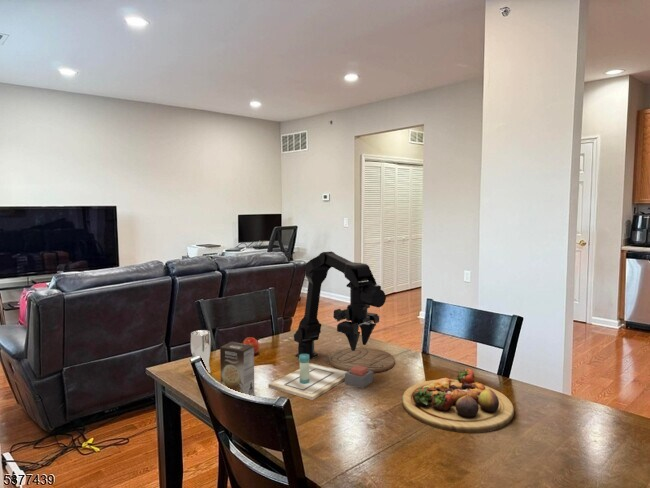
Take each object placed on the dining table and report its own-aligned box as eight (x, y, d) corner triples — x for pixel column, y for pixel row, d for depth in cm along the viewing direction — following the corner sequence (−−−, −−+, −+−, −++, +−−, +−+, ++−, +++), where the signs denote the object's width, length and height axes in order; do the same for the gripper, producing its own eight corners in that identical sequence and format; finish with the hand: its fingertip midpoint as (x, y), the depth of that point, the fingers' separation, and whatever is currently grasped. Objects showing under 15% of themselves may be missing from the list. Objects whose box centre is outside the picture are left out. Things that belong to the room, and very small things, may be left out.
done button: (356, 373, 155) (356, 365, 155) (367, 376, 153) (367, 367, 152) (350, 377, 152) (350, 368, 151) (361, 379, 149) (361, 371, 149)
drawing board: (310, 365, 168) (310, 362, 168) (352, 375, 158) (352, 372, 158) (268, 387, 149) (268, 383, 149) (312, 400, 139) (312, 396, 138)
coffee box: (219, 396, 142) (218, 346, 140) (232, 388, 147) (231, 341, 146) (244, 401, 138) (242, 350, 136) (255, 393, 144) (254, 344, 142)
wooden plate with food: (438, 377, 157) (438, 354, 156) (532, 406, 134) (532, 379, 133) (380, 408, 135) (379, 382, 134) (480, 449, 112) (480, 417, 111)
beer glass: (214, 370, 164) (213, 330, 163) (207, 377, 157) (206, 335, 156) (196, 369, 165) (194, 329, 164) (188, 376, 158) (187, 335, 157)
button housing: (355, 376, 157) (355, 367, 157) (373, 381, 153) (373, 371, 153) (344, 383, 151) (344, 373, 151) (363, 388, 147) (363, 377, 147)
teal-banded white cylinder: (303, 378, 152) (303, 353, 152) (311, 381, 151) (311, 354, 150) (297, 382, 150) (297, 355, 149) (305, 384, 148) (305, 357, 147)
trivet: (404, 359, 176) (405, 354, 176) (377, 380, 155) (377, 374, 155) (349, 348, 189) (349, 344, 189) (316, 366, 168) (316, 361, 168)
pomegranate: (245, 363, 177) (265, 347, 178) (233, 349, 177) (253, 333, 178) (246, 359, 185) (265, 343, 186) (235, 345, 184) (254, 329, 185)
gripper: (352, 294, 162) (352, 337, 163) (323, 304, 147) (323, 351, 148) (380, 298, 156) (379, 342, 157) (352, 308, 140) (352, 357, 142)
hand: (358, 347), depth 151 cm, fingers open, 7 cm apart
